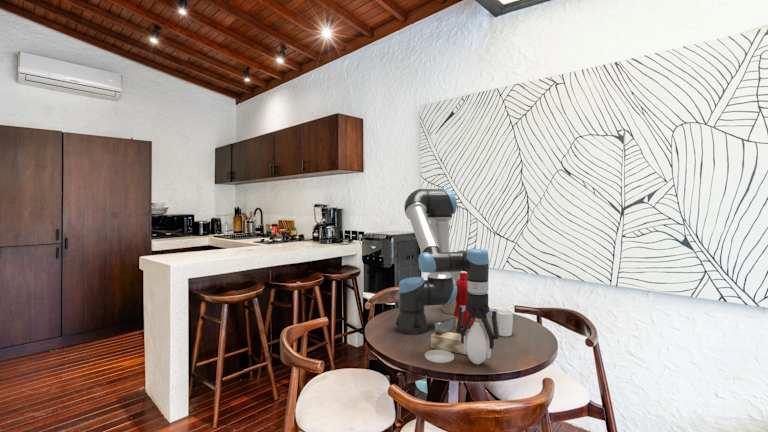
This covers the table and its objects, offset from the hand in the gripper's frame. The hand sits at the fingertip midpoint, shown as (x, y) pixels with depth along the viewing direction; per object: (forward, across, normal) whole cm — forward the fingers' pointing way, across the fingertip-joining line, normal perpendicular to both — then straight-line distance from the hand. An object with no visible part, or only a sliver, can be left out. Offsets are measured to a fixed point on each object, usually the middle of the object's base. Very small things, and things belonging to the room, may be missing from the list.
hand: (477, 354), depth 134 cm
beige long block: (+3, -10, +10) cm, 14 cm away
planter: (+3, -28, +58) cm, 64 cm away
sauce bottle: (+3, 0, 0) cm, 3 cm away
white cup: (+3, +3, +36) cm, 36 cm away
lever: (-2, -16, +14) cm, 22 cm away
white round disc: (+3, -14, -1) cm, 14 cm away
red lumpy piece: (+3, -16, +41) cm, 44 cm away
